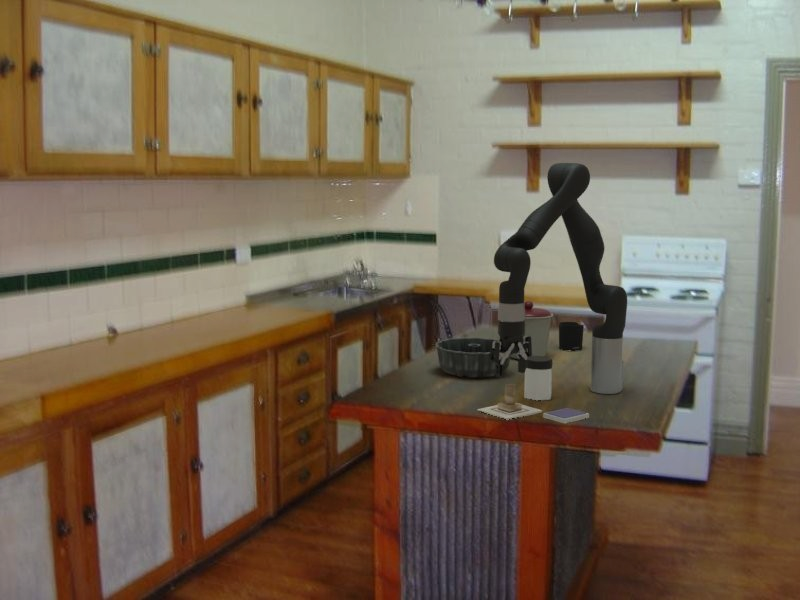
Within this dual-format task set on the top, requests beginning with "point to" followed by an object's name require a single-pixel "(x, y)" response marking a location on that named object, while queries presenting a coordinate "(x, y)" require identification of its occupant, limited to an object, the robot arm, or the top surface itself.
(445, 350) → the bundt pan
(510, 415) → the sheet
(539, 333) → the canister
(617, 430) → the top surface
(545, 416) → the ink pad
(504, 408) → the stamp
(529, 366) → the jar
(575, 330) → the pen holder
